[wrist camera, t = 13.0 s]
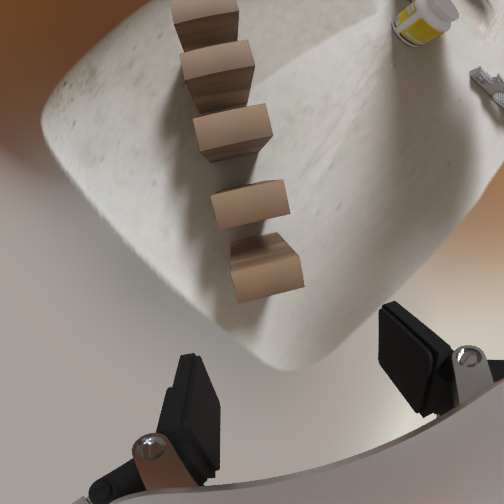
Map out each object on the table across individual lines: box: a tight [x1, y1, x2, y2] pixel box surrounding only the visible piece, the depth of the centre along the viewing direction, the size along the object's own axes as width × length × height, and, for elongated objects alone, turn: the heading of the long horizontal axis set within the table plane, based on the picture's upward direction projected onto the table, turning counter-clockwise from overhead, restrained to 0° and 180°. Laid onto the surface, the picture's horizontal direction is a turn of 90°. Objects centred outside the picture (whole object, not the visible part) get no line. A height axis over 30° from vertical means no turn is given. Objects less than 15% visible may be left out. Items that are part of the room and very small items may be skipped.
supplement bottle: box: [392, 0, 459, 47], centre depth 19 cm, size 5×5×10 cm
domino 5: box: [230, 232, 305, 303], centre depth 25 cm, size 2×5×10 cm, turn 102°
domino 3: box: [193, 103, 273, 163], centre depth 22 cm, size 2×5×10 cm, turn 102°
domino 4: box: [210, 180, 290, 230], centre depth 23 cm, size 2×5×10 cm, turn 102°
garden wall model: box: [470, 66, 504, 109], centre depth 23 cm, size 12×2×6 cm, turn 74°
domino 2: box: [180, 40, 255, 113], centre depth 21 cm, size 2×5×10 cm, turn 102°
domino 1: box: [171, 0, 239, 52], centre depth 19 cm, size 2×5×10 cm, turn 103°
